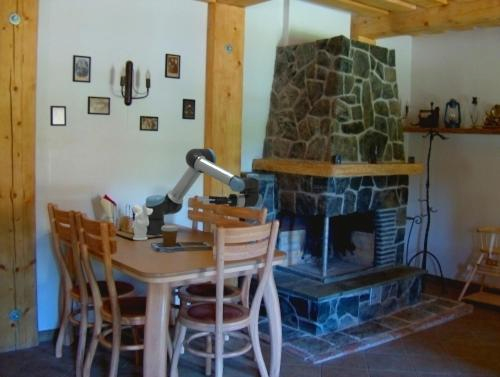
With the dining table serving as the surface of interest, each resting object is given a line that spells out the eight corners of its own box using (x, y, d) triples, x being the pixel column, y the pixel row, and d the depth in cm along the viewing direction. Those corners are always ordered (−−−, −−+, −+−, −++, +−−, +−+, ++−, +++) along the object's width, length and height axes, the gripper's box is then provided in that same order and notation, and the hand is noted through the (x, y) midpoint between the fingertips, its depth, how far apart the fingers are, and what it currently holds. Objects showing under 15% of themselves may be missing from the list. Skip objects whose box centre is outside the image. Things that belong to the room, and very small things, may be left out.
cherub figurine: (129, 238, 346) (129, 201, 345) (148, 236, 354) (148, 201, 352) (138, 241, 337) (139, 203, 335) (157, 239, 344) (158, 202, 342)
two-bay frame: (150, 245, 326) (150, 242, 326) (204, 243, 336) (204, 240, 336) (156, 252, 307) (156, 249, 307) (212, 250, 317) (213, 247, 317)
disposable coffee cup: (157, 247, 321) (157, 226, 320) (169, 245, 329) (170, 224, 328) (169, 250, 315) (169, 228, 314) (181, 247, 323) (182, 226, 322)
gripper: (242, 209, 326) (205, 209, 320) (229, 203, 350) (195, 203, 343) (242, 196, 326) (206, 196, 319) (230, 191, 349) (196, 191, 342)
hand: (200, 200), depth 331 cm, fingers open, 13 cm apart
